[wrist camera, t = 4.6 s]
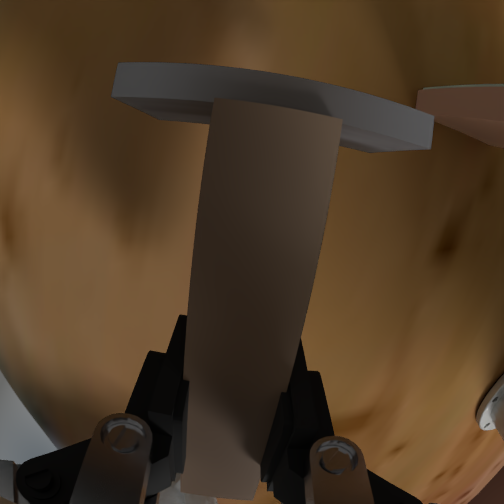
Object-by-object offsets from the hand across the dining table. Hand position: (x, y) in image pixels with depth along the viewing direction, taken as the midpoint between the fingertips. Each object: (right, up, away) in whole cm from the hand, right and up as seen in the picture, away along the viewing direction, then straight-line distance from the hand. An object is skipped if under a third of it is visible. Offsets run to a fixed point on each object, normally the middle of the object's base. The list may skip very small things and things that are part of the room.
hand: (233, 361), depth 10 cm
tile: (+12, +11, +4) cm, 17 cm away
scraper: (0, +2, +1) cm, 3 cm away
